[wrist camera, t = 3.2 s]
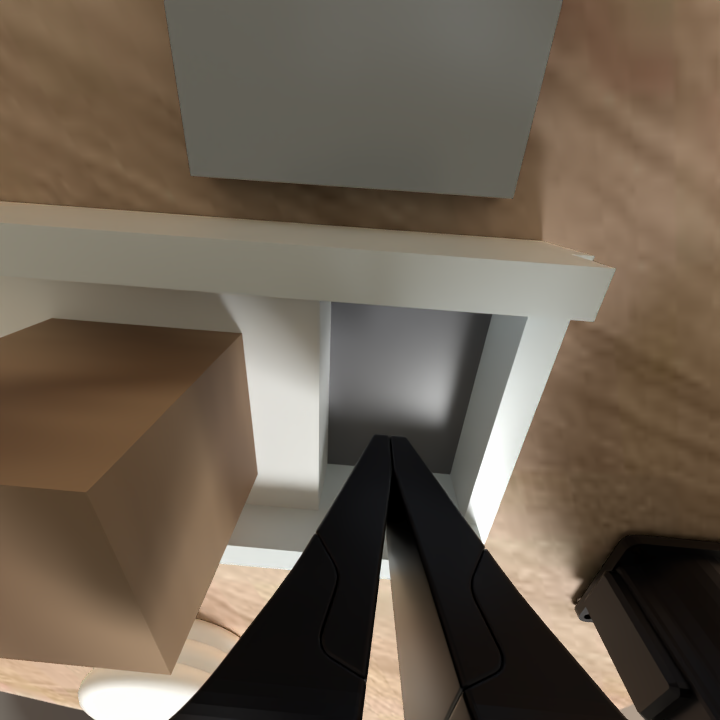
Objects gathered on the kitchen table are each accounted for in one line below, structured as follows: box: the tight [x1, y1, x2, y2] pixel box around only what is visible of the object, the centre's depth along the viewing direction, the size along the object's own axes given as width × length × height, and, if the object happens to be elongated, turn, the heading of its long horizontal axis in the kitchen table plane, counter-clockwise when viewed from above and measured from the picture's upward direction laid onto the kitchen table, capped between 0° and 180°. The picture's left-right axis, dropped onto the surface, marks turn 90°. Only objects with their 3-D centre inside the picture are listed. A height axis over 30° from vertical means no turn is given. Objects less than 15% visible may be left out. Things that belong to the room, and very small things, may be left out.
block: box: [0, 318, 258, 675], centre depth 7 cm, size 5×5×5 cm
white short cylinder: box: [78, 618, 240, 720], centre depth 21 cm, size 10×10×4 cm
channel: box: [0, 201, 616, 579], centre depth 10 cm, size 22×10×4 cm, turn 86°
